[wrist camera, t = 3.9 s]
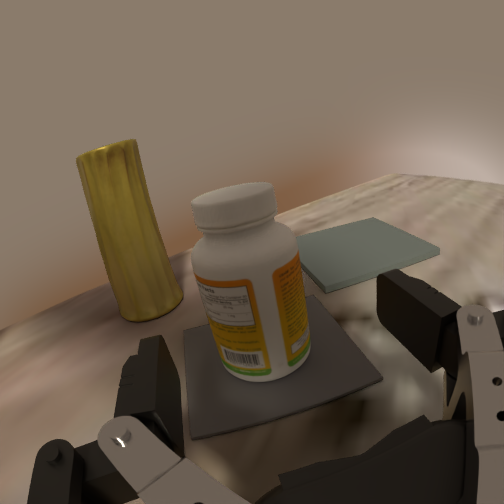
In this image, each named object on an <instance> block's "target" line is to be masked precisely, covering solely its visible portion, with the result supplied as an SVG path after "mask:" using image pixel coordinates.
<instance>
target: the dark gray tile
mask: <svg viewBox="0 0 504 504" xmlns="http://www.w3.org/2000/svg"><path fill="white" fill-rule="evenodd" d="M305 300H306V308H307V316H308V324H309V332H310V343H311V346H310V352H309V355H308V357H307V358H306V360H305V361H304V363H303V364H302V365H301V366H300V367H299V368H297V369H296V370H295V371H293V372H292V373H290V374H288V375H286V376H284V377H282V378H279V379H276V380H272V381H266V382H252V381H246V380H243V379H240V378H238V377H236V376H234V375H232V374H231V373H230V372H228V371H227V369H226V368H225V367H224V365H223V363H222V360H221V357H220V355H219V352H218V349H217V345H216V342H215V339H214V336H213V333H212V330H211V327H210V324H207V325H203V326H199V327H195V328H191V329H187V330H184V350H185V368H186V384H187V398H188V411H189V422H190V433H191V439H192V440H194V439H200V438H205V437H209V436H214V435H219V434H223V433H227V432H231V431H236V430H240V429H243V428H247V427H251V426H255V425H259V424H262V423H266V422H269V421H273V420H276V419H279V418H283V417H286V416H289V415H292V414H295V413H298V412H301V411H304V410H307V409H310V408H313V407H316V406H319V405H321V404H324V403H327V402H330V401H332V400H335V399H337V398H340V397H343V396H345V395H348V394H350V393H353V392H355V391H358V390H360V389H362V388H365V387H367V386H369V385H372V384H374V383H376V382H379V381H381V380H383V377H382V376H381V374H380V373H379V372H378V371H377V370H376V368H375V367H374V366H373V365H372V364H371V362H370V361H369V360H368V359H367V358H366V356H365V355H364V354H363V353H362V352H361V350H360V349H359V348H358V347H357V346H356V344H355V343H354V342H353V341H352V340H351V338H350V337H349V336H348V335H347V334H346V332H345V331H344V330H343V329H342V328H341V327H340V325H339V324H338V323H337V322H336V321H335V319H334V318H333V317H332V316H331V315H330V313H329V312H328V311H327V310H326V309H325V308H324V306H323V305H322V304H321V303H320V302H319V301H318V299H317V298H316V297H315V296H314V295H311V296H308V297H305Z"/></svg>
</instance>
